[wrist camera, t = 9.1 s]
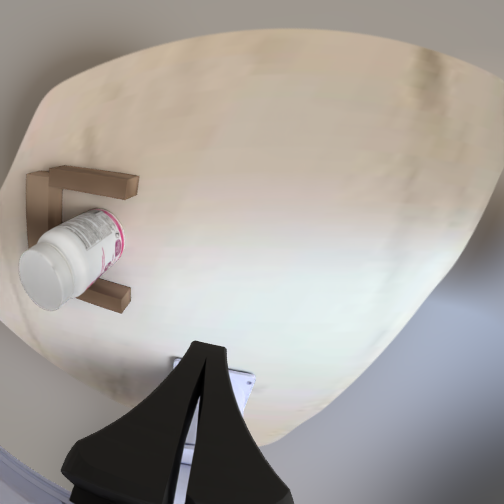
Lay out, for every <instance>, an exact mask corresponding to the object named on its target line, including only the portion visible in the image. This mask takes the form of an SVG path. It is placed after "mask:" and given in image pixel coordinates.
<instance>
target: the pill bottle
mask: <svg viewBox="0 0 504 504" xmlns="http://www.w3.org/2000/svg"><path fill="white" fill-rule="evenodd" d="M124 248H125V234H124V230H123V227H122V225H121V224H120V222H119V221H118V219H117V218H116V217H115V216H114V215H113V214H112V213H110V212H109V211H107V210H104V209H92V210H89V211H87V212H84V213H82V214H80V215H78V216H76V217H74V218H72V219H70V220H68V221H66V222H64V223H62V224H60V225H58V226H56V227H54V228H52V229H50V230H49V231H47V232H46V233H44V234H43V235H42V236H41V237H40V239H39V240H38V242H37V244H36V245H34V246H32V247H31V248H29V249H28V250H26V251H25V252H24V253H23V254H22V255H21V257H20V260H19V276H20V280H21V283H22V285H23V287H24V289H25V291H26V293H27V294H28V296H29V297H30V298H31V300H32V301H33V302H34V303H35V304H37V305H38V306H39V307H40V308H42V309H45V310H48V311H54V310H57V309H59V308H60V307H61V306H62V305H63V304H64V303H66V302H67V301H68V300H69V299H70V298H76V297H78V296H80V295H81V294H82V293H83V292H85V291H86V290H87V289H88V288H89V287H90V286H91V285H92V284H93V283H94V282H95V281H96V280H97V279H98V278H99V277H100V276H101V275H102V274H103V273H104V272H105V271H106V270H107V269H108V268H109V267H111V266H112V265H113V264H114V263H115V262H116V261H117V260H118V259H119V258H120V257H121V255H122V253H123V251H124Z"/></svg>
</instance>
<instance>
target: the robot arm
mask: <svg viewBox="0 0 504 504" xmlns="http://www.w3.org/2000/svg"><path fill="white" fill-rule="evenodd" d="M248 381H250V382H248ZM254 383H255V375H253V374H248V373H243V372H237V371H232V370H228V364H227V349H226V348H225V347H222V346H217V345H212V344H208V343H203V342H199V341H193V342H192V343H191V345H190V347H189V349H188V350H187V352H186V353H185V355H184V356H183V358H182V359H175V360H174V363H173V371H172V372H171V373H170V374H169V375H168V377H167V378H166V379H165V380H164V381H163V382H162V383H161V384H160V385H159V386H158V387H157V388H156V389H155V390H154V391H153V392H152V393H151V394H150V395H149V396H148V397H147V398H145V399H144V400H143V401H142V402H141V403H140V404H138V405H137V406H136V407H135V408H133V409H132V410H131V411H130V412H128V413H127V414H125V415H124V416H122V417H121V418H119V419H118V420H116V421H115V422H113V423H111V424H110V425H108V426H106V427H105V428H103V429H101V430H99V431H97V432H95V433H93V434H91V435H89V436H87V437H85V438H83V439H81V440H78V441H77V442H76V443H75V445H74V446H73V447H72V448H71V450H70V451H69V453H68V455H67V456H66V458H65V461H64V463H63V466H62V468H61V472H62V474H63V475H64V476H65V477H66V478H67V479H68V480H70V482H72V483H73V484H74V488H73V490H72V492H70V491H68V490H67V489H65V488H63V487H61V486H59V485H57V484H56V483H54V482H52V481H50V480H49V479H47V478H45V477H44V476H42V475H41V474H39V473H37V472H36V471H34V470H33V469H31V468H30V467H28V466H27V465H25V464H24V463H22V462H21V461H20V460H18V459H17V458H15V457H14V456H13V455H11V454H10V453H9V452H7V451H6V450H5V449H4V448H2V447H1V446H0V504H294V501H293V498H292V495H291V492H290V489H289V488H288V487H287V486H286V485H285V483H284V482H283V481H282V480H281V479H280V478H279V476H278V475H277V474H276V473H275V472H274V470H273V469H272V467H271V466H270V465H269V463H268V462H267V460H265V458H264V456H263V454H262V453H261V451H260V449H259V448H258V446H257V445H256V443H255V441H254V440H253V438H252V436H251V434H250V432H249V430H248V428H247V426H246V424H245V421H244V419H243V412H244V408H245V405H246V403H247V400H248V398H249V395H250V393H251V390H252V388H253V385H254Z"/></svg>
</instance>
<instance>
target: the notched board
mask: <svg viewBox="0 0 504 504" xmlns="http://www.w3.org/2000/svg"><path fill="white" fill-rule="evenodd" d="M138 182H139V176H136V175H129V174H123V173H117V172H110V171H103V170H96V169H89V168H81V167H73V166H65V165H64V166H59V167H54V168H49V172H48V171H38V172H34V173H29V174H27V178H26V218H27V236H28V247H29V248H31V247H32V246H34V245H36V244H37V242H38V240H39V239H40V237H41V236H42V235H43V234H44V233H46V232H47V231H49V230H50V229H52V228H54V227H56V226H58V225H60V224H62V189H68V190H74V191H80V192H85V193H91V194H96V195H101V196H107V197H112V198H117V199H122V200H126V199H128V198H131V197H133V196H135V195H137V190H138ZM76 298H77V299H80V300H83V301H85V302H88V303H91V304H94V305H97V306H100V307H103V308H106V309H109V310H112V311H115V312H118V313H121V314H122V312H123V311H124V310H125V308H126V307H127V306H128V304H129V303H130V302H131V288H130V287H126V286H123V285H119V284H116V283H113V282H109V281H106V280H103V279H100V278H98V279H97V280H96V281H95V282H94V283H93V284H92V285H91V286H90V287H89V288H88V289H87V290H86V291H85V292H83V293H82V294H81V295H80V296H78V297H76Z"/></svg>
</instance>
